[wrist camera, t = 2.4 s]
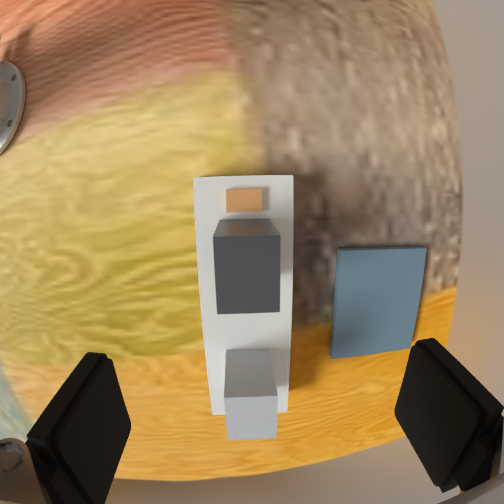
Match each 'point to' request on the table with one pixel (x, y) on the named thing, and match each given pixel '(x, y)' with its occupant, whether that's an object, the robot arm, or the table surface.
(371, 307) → the mat
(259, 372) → the block
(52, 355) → the table surface
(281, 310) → the power strip
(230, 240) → the block
